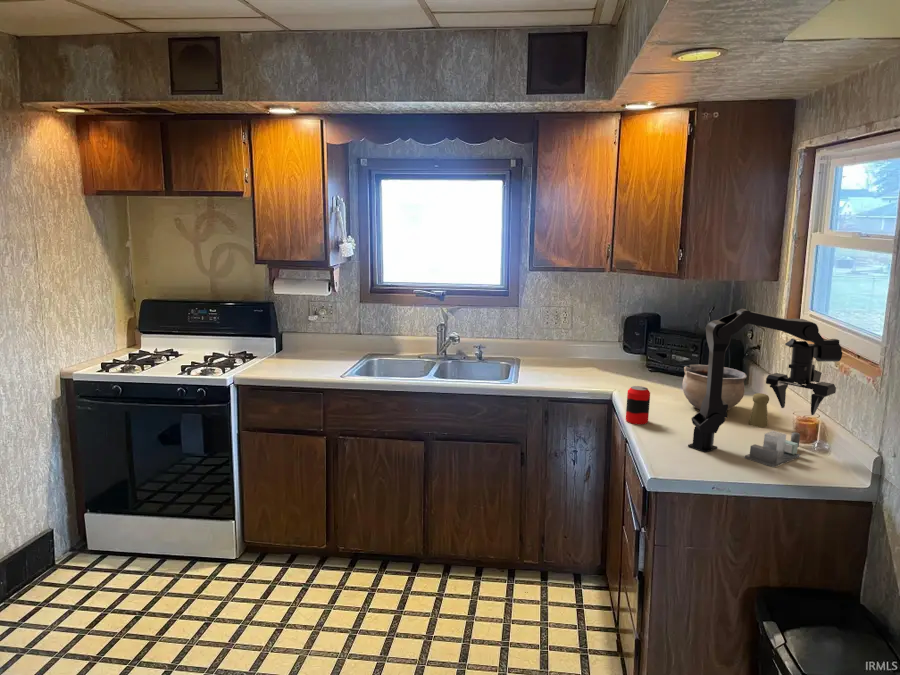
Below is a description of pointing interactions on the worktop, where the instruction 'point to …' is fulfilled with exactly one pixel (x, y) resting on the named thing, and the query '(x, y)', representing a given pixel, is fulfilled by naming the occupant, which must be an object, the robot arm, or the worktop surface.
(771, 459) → the base
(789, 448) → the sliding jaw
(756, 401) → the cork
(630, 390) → the soda can
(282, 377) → the worktop surface
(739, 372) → the ceramic bowl
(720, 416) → the robot arm
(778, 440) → the steel block
